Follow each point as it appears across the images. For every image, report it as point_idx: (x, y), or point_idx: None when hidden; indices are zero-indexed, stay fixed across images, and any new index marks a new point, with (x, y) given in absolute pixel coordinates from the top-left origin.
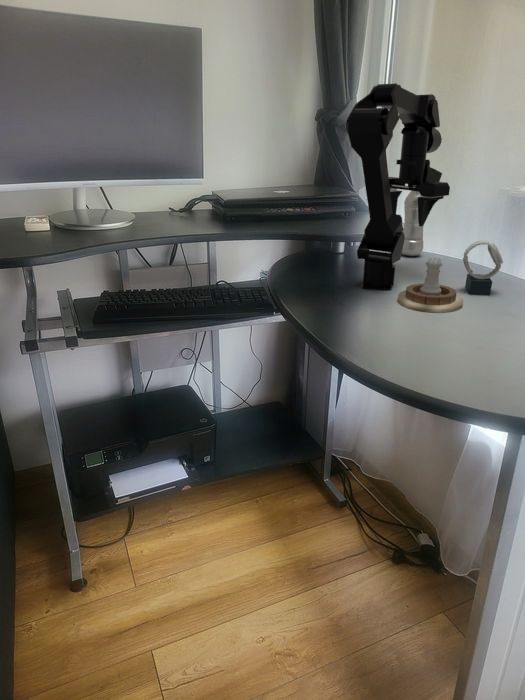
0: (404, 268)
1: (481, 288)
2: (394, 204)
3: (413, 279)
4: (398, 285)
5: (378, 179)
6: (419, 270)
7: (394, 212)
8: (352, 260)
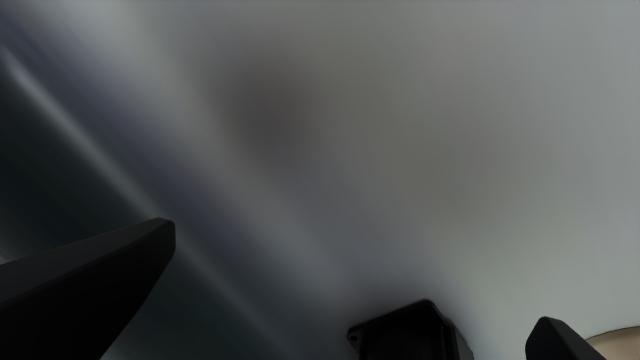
0: (354, 73)
1: None
2: (21, 351)
3: (482, 211)
4: (469, 307)
5: None
6: (433, 52)
7: (118, 277)
8: (113, 117)
